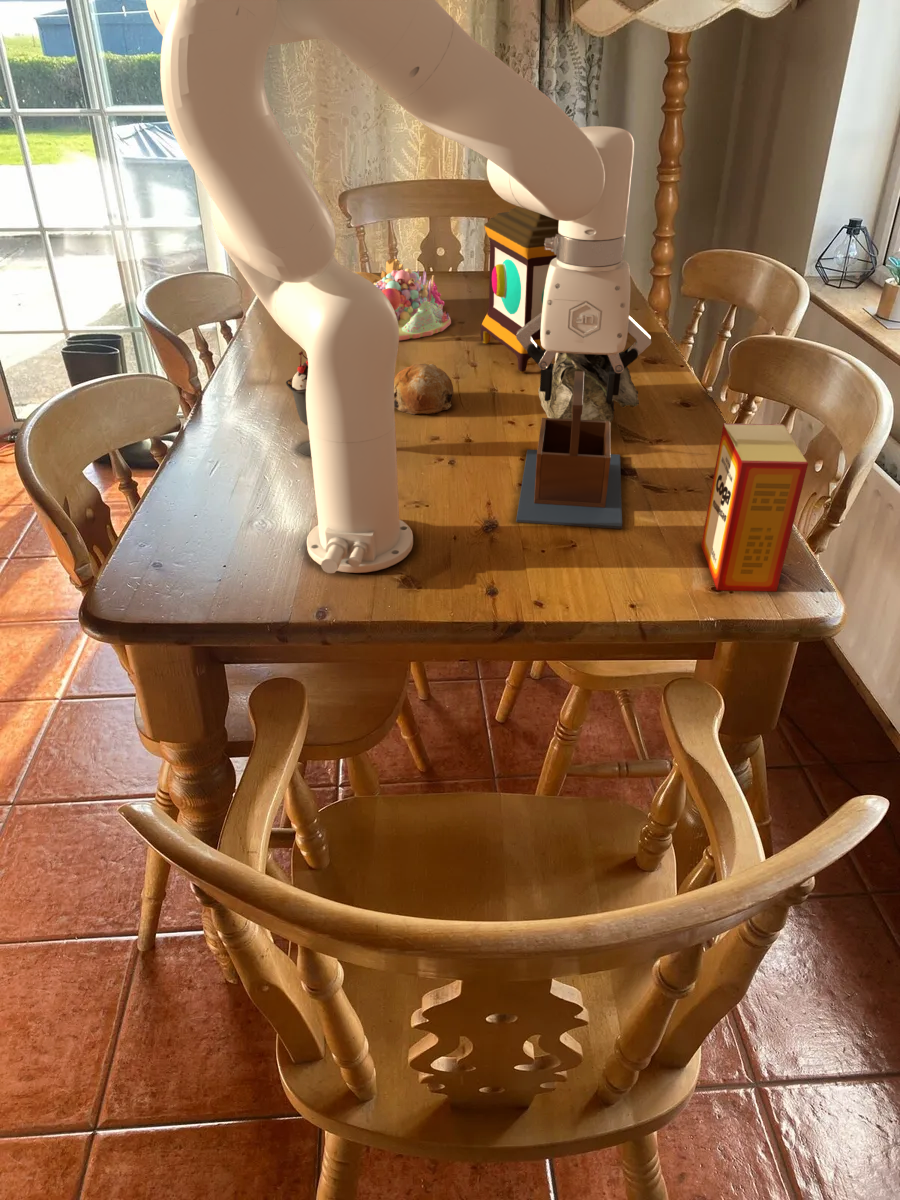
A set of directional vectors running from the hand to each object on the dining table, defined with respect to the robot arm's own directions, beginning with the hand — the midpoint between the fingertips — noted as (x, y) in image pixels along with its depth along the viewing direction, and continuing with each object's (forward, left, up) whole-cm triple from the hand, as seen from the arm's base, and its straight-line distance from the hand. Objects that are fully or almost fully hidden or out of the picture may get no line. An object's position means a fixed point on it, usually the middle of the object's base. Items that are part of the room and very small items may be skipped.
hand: (578, 397), depth 113 cm
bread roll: (+25, +24, -13) cm, 37 cm away
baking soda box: (-17, -20, -13) cm, 29 cm away
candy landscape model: (+66, +36, -13) cm, 77 cm away
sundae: (+7, +36, -13) cm, 39 cm away
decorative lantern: (+51, +6, -13) cm, 53 cm away
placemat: (0, 0, -13) cm, 13 cm away
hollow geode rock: (+26, -2, -13) cm, 29 cm away
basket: (0, 0, -12) cm, 12 cm away
